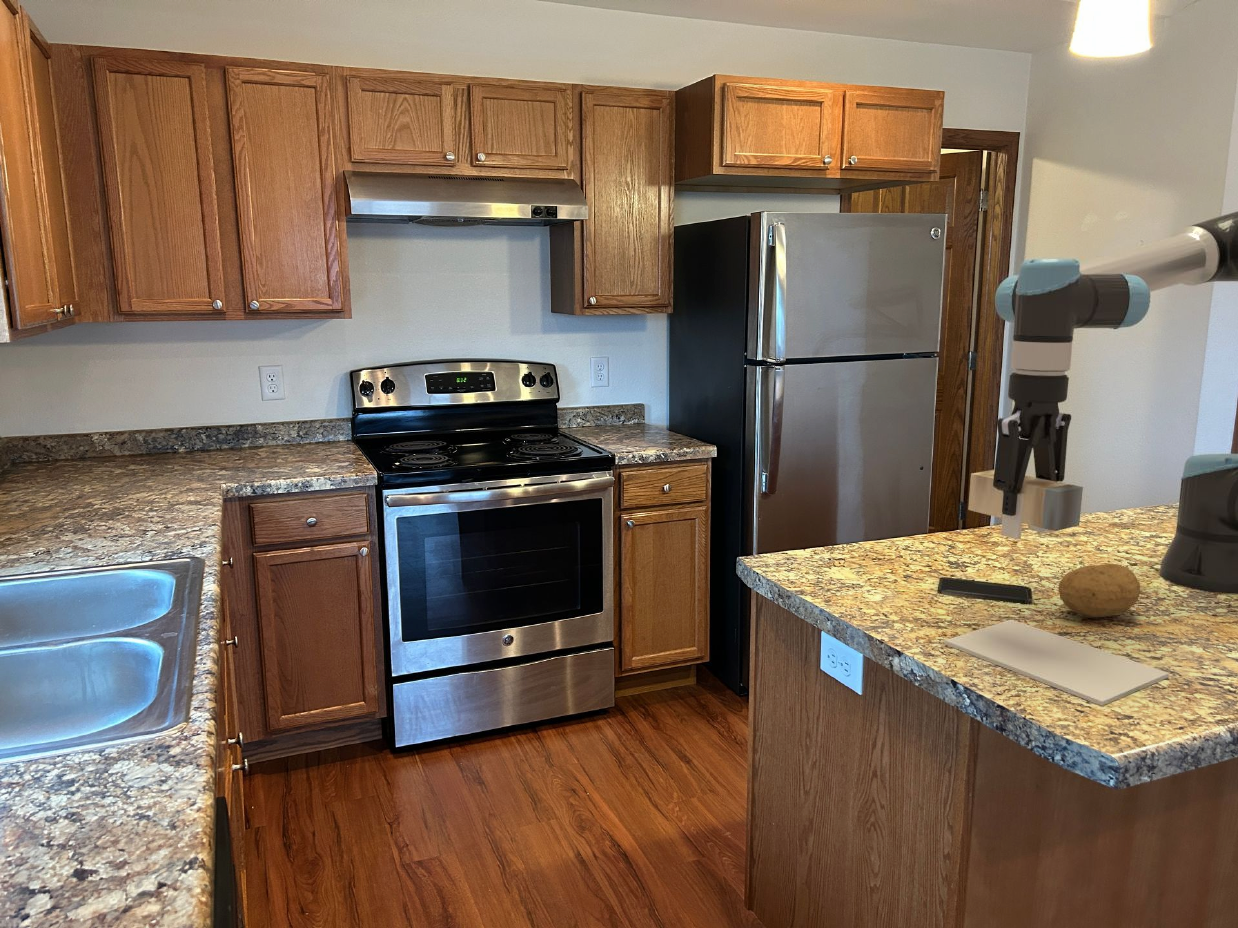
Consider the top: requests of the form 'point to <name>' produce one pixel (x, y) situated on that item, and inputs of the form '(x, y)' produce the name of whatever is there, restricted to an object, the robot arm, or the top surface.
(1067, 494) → the maple block
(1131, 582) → the potato
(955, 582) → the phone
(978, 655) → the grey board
